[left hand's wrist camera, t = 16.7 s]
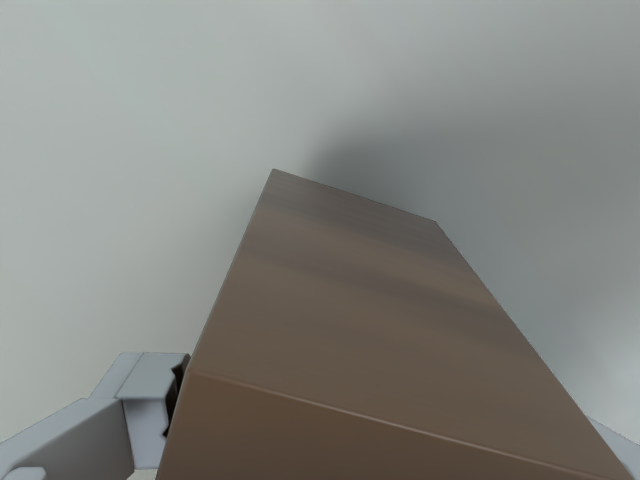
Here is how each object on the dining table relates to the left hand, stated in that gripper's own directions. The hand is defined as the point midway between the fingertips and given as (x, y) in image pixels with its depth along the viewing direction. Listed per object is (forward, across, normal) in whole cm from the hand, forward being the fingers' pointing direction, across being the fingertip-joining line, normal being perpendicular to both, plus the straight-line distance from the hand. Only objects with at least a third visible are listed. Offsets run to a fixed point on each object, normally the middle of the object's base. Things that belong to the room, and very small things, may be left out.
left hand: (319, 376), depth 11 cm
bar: (+4, -3, -8) cm, 9 cm away
